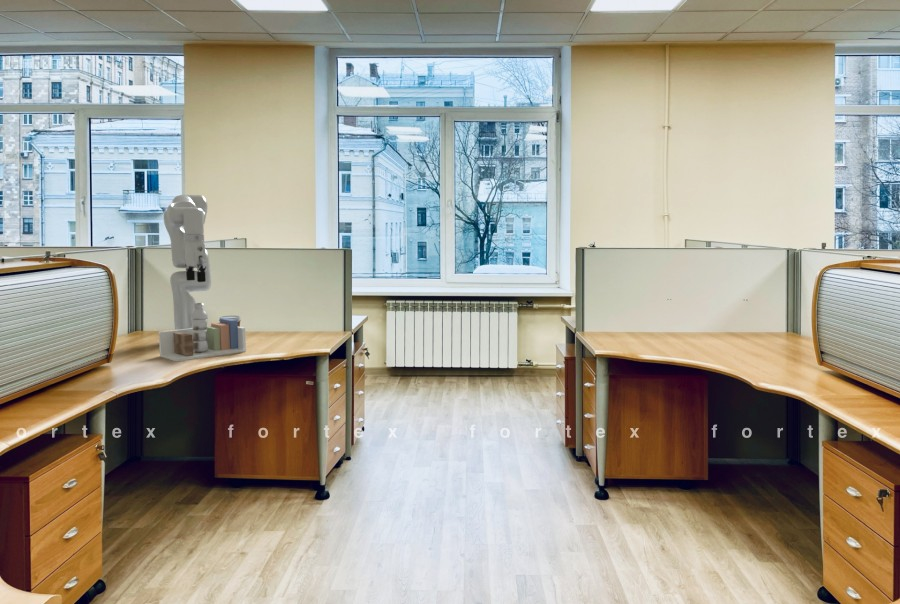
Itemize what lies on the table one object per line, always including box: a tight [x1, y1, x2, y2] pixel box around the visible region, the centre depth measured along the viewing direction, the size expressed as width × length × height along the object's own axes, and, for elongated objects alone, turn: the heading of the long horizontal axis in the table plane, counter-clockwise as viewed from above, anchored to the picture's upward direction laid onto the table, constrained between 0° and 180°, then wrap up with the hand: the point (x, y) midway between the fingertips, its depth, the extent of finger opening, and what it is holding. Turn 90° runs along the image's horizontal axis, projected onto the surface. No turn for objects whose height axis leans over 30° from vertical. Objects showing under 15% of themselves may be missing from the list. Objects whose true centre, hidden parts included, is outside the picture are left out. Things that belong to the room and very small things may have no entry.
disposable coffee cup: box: [218, 315, 242, 327], centre depth 317 cm, size 10×10×12 cm
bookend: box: [173, 332, 193, 356], centre depth 286 cm, size 11×3×8 cm, turn 44°
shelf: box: [158, 318, 247, 362], centre depth 292 cm, size 15×30×13 cm, turn 134°
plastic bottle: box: [191, 302, 209, 352], centre depth 290 cm, size 6×7×20 cm
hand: (196, 281), depth 288 cm, fingers open, 9 cm apart
